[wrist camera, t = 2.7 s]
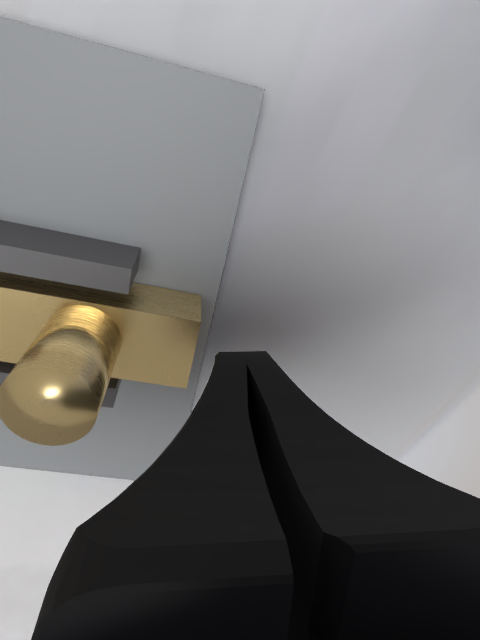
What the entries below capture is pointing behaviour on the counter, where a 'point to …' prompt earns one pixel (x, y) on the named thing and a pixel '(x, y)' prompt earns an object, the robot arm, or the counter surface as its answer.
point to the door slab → (117, 208)
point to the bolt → (86, 350)
